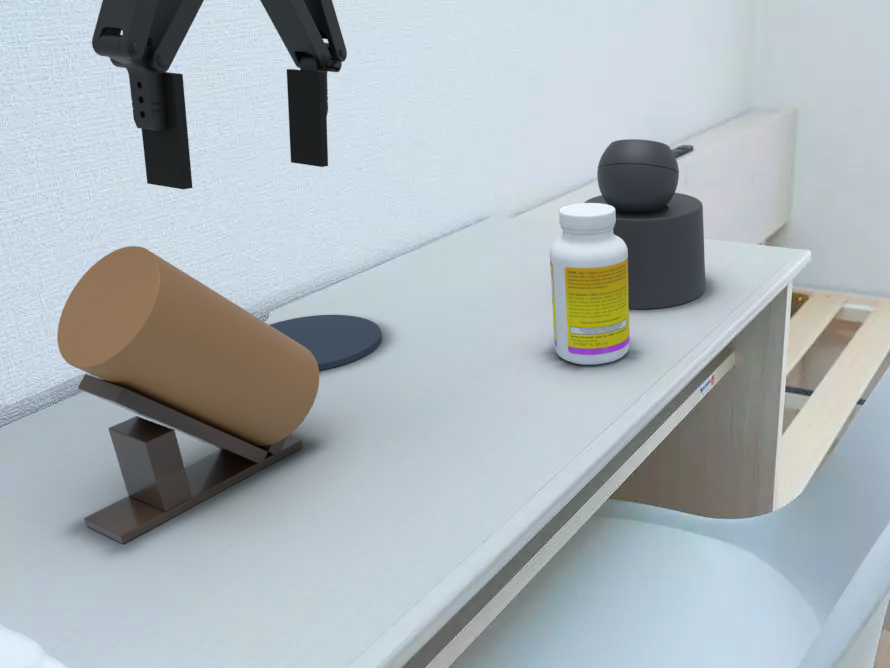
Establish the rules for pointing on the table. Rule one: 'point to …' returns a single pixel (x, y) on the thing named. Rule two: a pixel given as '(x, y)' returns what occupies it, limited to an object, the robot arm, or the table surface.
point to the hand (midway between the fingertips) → (246, 174)
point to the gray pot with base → (653, 223)
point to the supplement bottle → (589, 286)
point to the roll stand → (168, 462)
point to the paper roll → (186, 347)
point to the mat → (333, 337)
